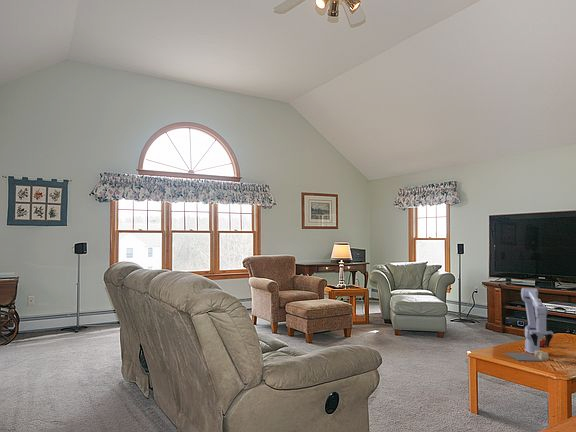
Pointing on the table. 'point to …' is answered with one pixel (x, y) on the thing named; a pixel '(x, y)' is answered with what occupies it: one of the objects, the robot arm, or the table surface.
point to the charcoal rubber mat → (523, 357)
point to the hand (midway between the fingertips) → (541, 345)
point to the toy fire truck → (543, 341)
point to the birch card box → (541, 355)
